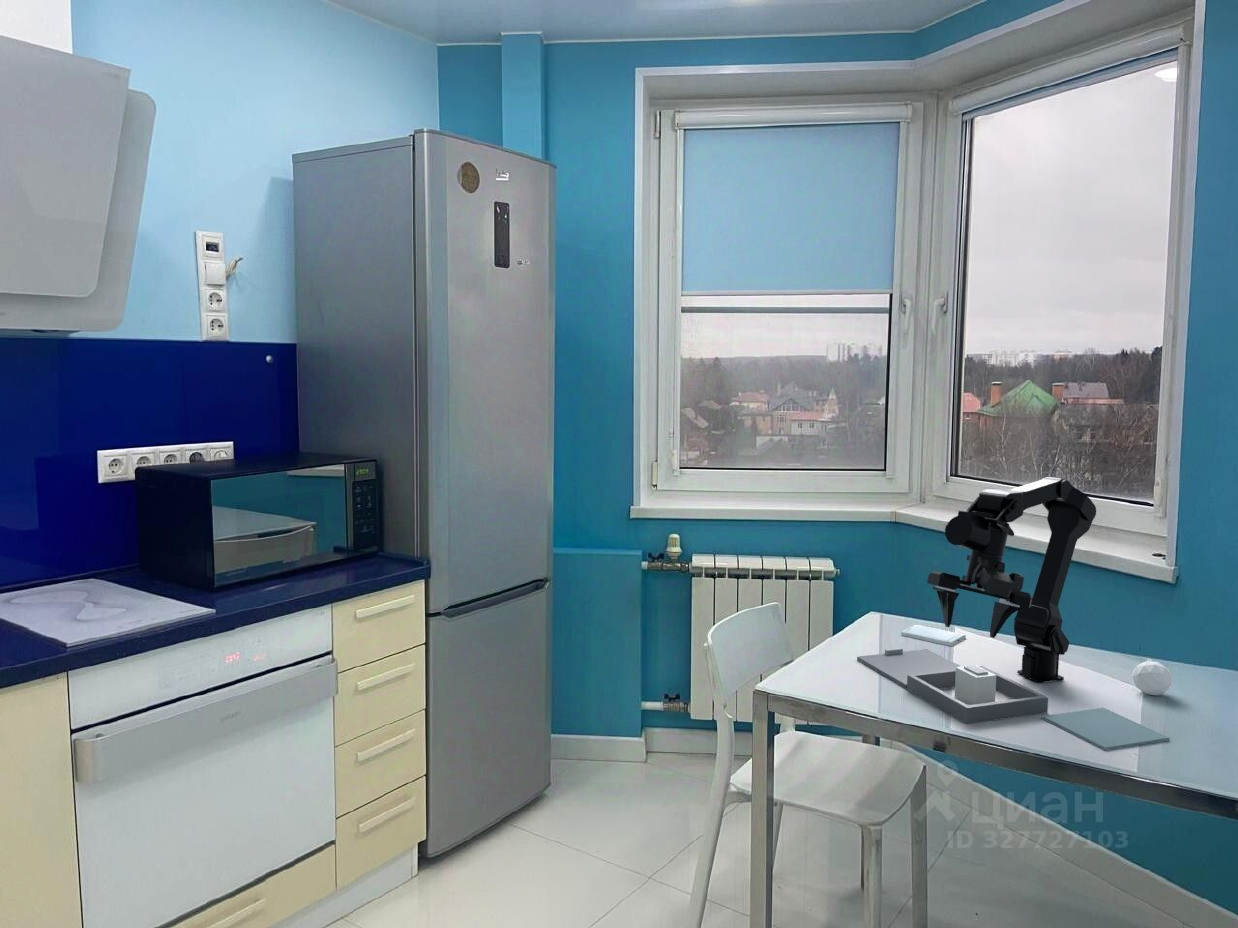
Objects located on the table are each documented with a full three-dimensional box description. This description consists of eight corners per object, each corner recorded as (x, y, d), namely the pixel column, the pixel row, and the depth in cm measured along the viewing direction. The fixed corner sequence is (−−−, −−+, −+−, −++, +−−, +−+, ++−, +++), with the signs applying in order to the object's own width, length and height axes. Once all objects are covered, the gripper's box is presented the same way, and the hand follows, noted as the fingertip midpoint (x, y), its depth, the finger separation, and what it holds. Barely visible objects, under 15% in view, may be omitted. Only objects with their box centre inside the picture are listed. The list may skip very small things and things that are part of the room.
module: (973, 694, 170) (975, 662, 169) (994, 705, 164) (996, 673, 163) (954, 696, 168) (955, 665, 168) (975, 707, 163) (976, 675, 162)
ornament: (1126, 693, 169) (1122, 657, 173) (1152, 702, 171) (1147, 666, 175) (1155, 687, 164) (1150, 650, 167) (1182, 696, 166) (1176, 659, 169)
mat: (1103, 709, 161) (1103, 707, 161) (1169, 740, 148) (1169, 737, 148) (1042, 718, 157) (1042, 715, 157) (1104, 750, 144) (1104, 747, 144)
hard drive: (901, 631, 208) (951, 641, 199) (916, 623, 214) (965, 633, 205) (901, 637, 208) (951, 648, 199) (916, 630, 214) (965, 640, 205)
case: (926, 652, 195) (926, 639, 194) (1047, 712, 160) (1048, 697, 160) (857, 659, 190) (857, 646, 189) (966, 723, 155) (967, 707, 155)
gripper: (960, 545, 157) (942, 628, 157) (1055, 568, 159) (1037, 651, 158) (934, 541, 169) (917, 619, 168) (1023, 563, 170) (1006, 640, 169)
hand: (969, 632), depth 165 cm, fingers open, 9 cm apart
